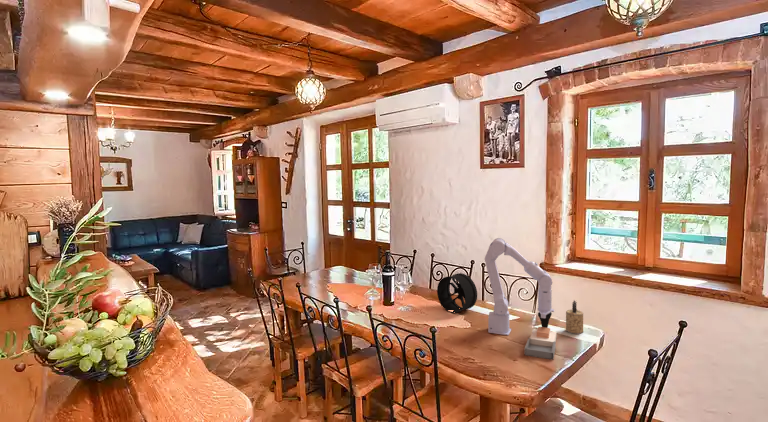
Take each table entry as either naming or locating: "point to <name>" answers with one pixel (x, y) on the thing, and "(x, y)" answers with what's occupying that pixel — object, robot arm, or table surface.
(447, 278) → the car wheel rim
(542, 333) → the tile
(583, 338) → the table surface
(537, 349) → the tray
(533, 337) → the board
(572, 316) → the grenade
